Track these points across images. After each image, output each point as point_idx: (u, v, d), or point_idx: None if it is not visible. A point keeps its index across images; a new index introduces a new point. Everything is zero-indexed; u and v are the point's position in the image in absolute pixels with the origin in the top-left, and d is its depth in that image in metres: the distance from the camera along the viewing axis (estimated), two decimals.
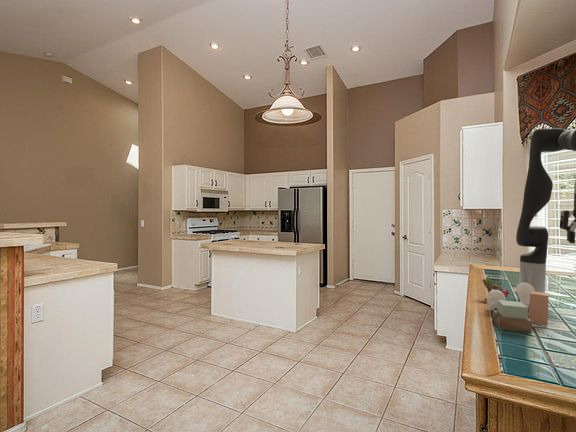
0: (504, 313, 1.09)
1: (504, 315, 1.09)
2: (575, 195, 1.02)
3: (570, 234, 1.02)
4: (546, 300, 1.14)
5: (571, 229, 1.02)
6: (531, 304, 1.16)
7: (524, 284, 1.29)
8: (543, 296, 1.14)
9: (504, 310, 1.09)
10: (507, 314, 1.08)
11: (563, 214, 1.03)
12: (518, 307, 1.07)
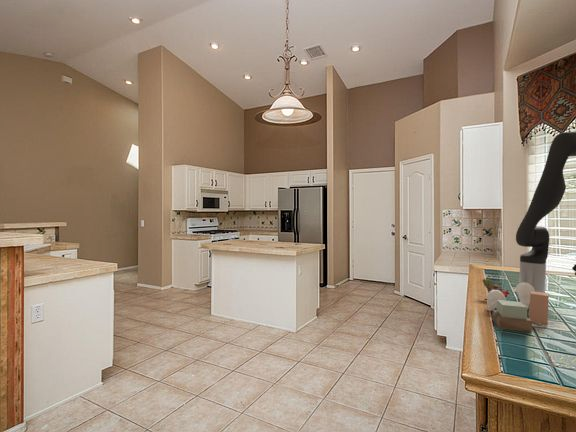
0: (503, 313, 1.09)
1: (503, 315, 1.09)
2: None
3: None
4: (546, 300, 1.14)
5: None
6: (531, 304, 1.16)
7: (524, 284, 1.29)
8: (543, 296, 1.14)
9: (503, 310, 1.09)
10: (506, 313, 1.09)
11: None
12: (517, 307, 1.08)
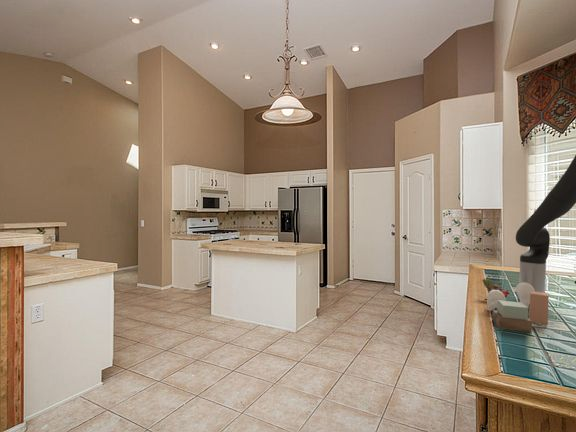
0: (504, 313, 1.09)
1: (504, 315, 1.09)
2: None
3: None
4: (546, 300, 1.14)
5: None
6: (531, 304, 1.16)
7: (524, 284, 1.29)
8: (543, 296, 1.14)
9: (504, 310, 1.09)
10: (507, 314, 1.08)
11: None
12: (518, 307, 1.07)
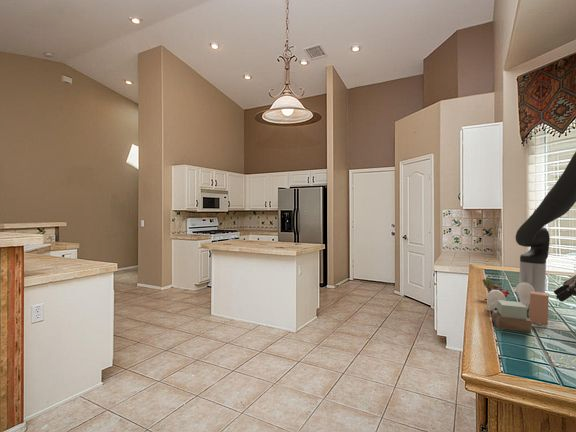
0: (503, 313, 1.09)
1: (503, 315, 1.09)
2: None
3: (568, 296, 1.08)
4: (546, 300, 1.14)
5: (574, 295, 1.08)
6: (531, 304, 1.16)
7: (524, 284, 1.29)
8: (543, 296, 1.14)
9: (503, 310, 1.09)
10: (506, 313, 1.09)
11: None
12: (517, 307, 1.08)
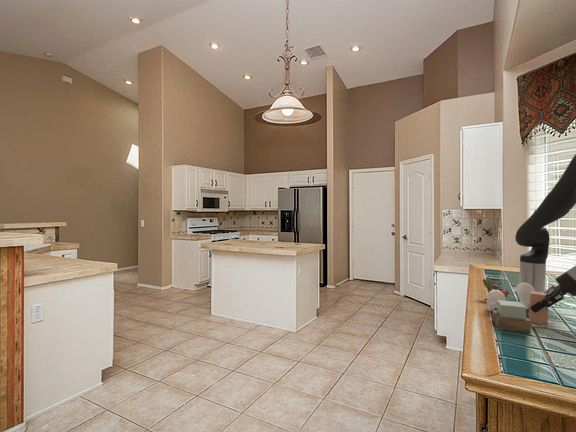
0: (502, 313, 1.09)
1: (502, 315, 1.09)
2: None
3: (541, 307, 1.14)
4: None
5: (546, 306, 1.13)
6: (531, 304, 1.16)
7: (524, 284, 1.29)
8: (543, 296, 1.14)
9: (502, 310, 1.09)
10: (505, 313, 1.09)
11: (558, 299, 1.09)
12: (516, 307, 1.08)
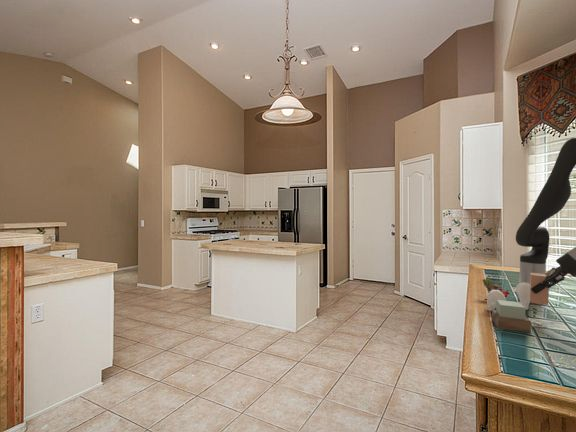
0: (501, 313, 1.09)
1: (501, 315, 1.09)
2: None
3: (542, 288, 1.14)
4: (547, 281, 1.14)
5: (547, 287, 1.13)
6: (532, 285, 1.16)
7: (524, 284, 1.29)
8: (544, 277, 1.14)
9: (501, 310, 1.09)
10: (504, 313, 1.09)
11: (559, 279, 1.09)
12: (515, 307, 1.08)
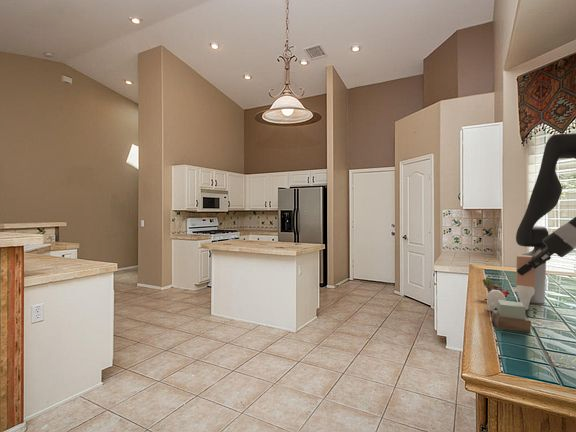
0: (501, 312, 1.09)
1: (501, 314, 1.09)
2: (563, 242, 1.04)
3: (528, 270, 1.09)
4: (533, 262, 1.09)
5: (533, 268, 1.08)
6: (518, 267, 1.11)
7: None
8: (530, 258, 1.09)
9: (501, 309, 1.09)
10: (504, 313, 1.09)
11: (545, 259, 1.04)
12: (515, 307, 1.08)
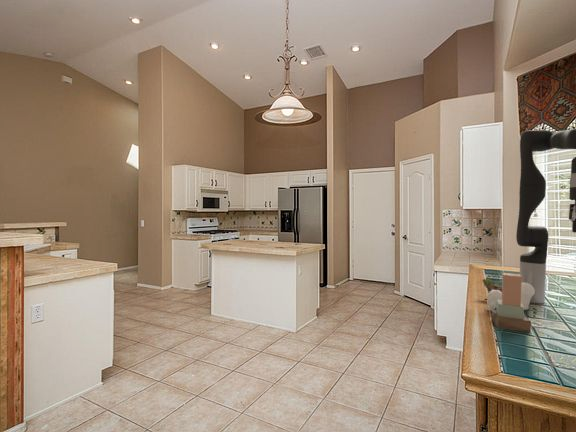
0: (500, 312, 1.10)
1: (500, 314, 1.10)
2: None
3: None
4: (519, 281, 1.08)
5: None
6: (504, 286, 1.10)
7: (524, 284, 1.29)
8: (516, 277, 1.08)
9: (500, 309, 1.10)
10: (502, 313, 1.10)
11: None
12: (514, 307, 1.08)
